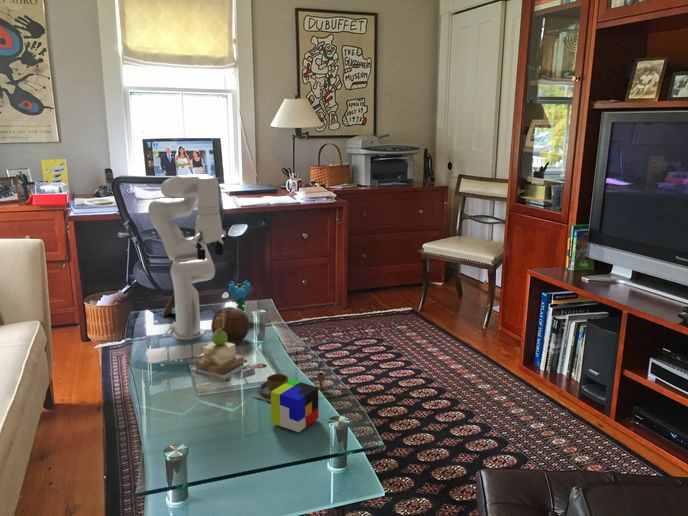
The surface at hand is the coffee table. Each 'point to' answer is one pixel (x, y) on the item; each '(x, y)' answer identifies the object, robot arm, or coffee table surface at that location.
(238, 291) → the toy flower
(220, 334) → the snail figurine
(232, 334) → the wooden sphere
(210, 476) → the coffee table surface
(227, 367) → the plinth
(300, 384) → the puzzle toy
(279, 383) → the place setting
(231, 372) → the blueprint board
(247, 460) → the coffee table surface
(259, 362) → the coffee table surface
